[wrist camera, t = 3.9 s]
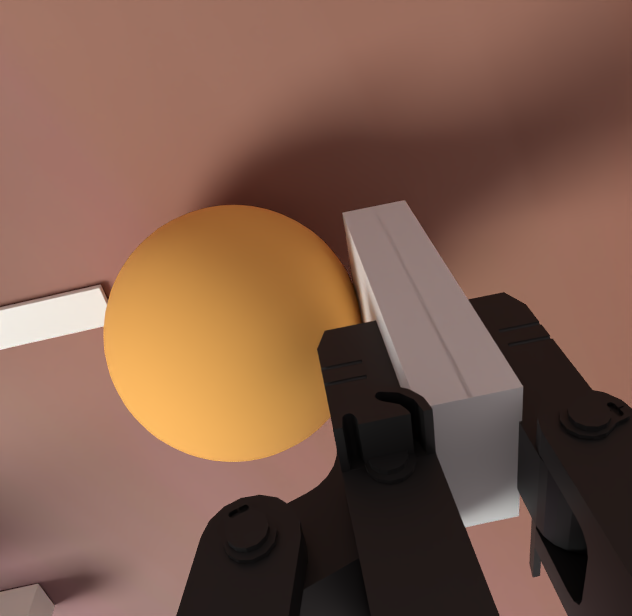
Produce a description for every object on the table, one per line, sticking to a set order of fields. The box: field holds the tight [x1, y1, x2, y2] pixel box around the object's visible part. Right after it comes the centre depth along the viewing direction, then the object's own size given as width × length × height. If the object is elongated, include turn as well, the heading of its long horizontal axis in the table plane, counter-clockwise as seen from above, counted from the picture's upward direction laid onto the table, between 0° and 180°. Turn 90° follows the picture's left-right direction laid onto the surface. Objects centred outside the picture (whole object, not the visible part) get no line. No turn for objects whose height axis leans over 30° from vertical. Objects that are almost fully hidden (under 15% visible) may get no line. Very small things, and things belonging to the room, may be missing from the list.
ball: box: [104, 205, 362, 462], centre depth 14 cm, size 6×6×6 cm
